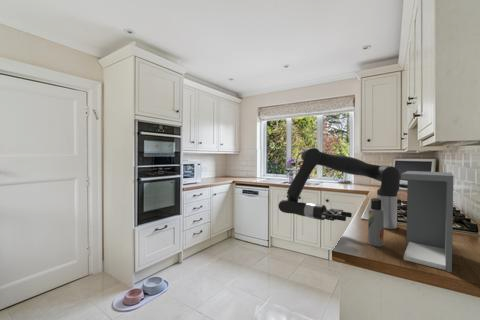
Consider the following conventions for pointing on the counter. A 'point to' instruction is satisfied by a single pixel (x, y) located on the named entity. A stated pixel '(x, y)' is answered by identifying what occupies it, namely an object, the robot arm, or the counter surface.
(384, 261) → the counter surface
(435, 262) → the shelf mat
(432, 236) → the open shelf
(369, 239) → the lotion bottle
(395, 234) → the counter surface
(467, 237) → the counter surface
